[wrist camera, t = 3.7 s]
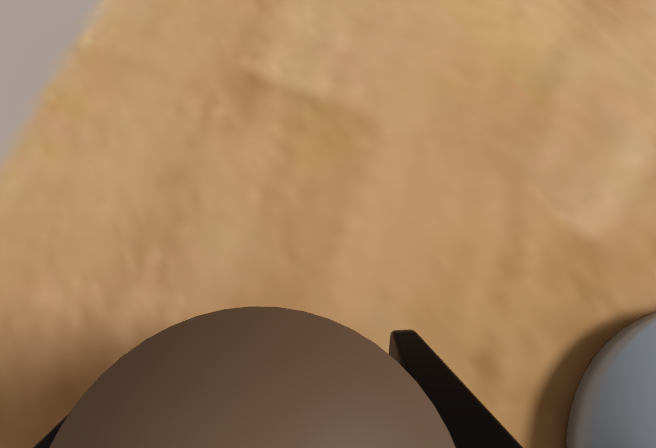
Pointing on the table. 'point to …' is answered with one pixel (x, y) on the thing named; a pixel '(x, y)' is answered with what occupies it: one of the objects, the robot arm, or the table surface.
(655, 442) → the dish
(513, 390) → the table surface
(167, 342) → the brown cylinder
